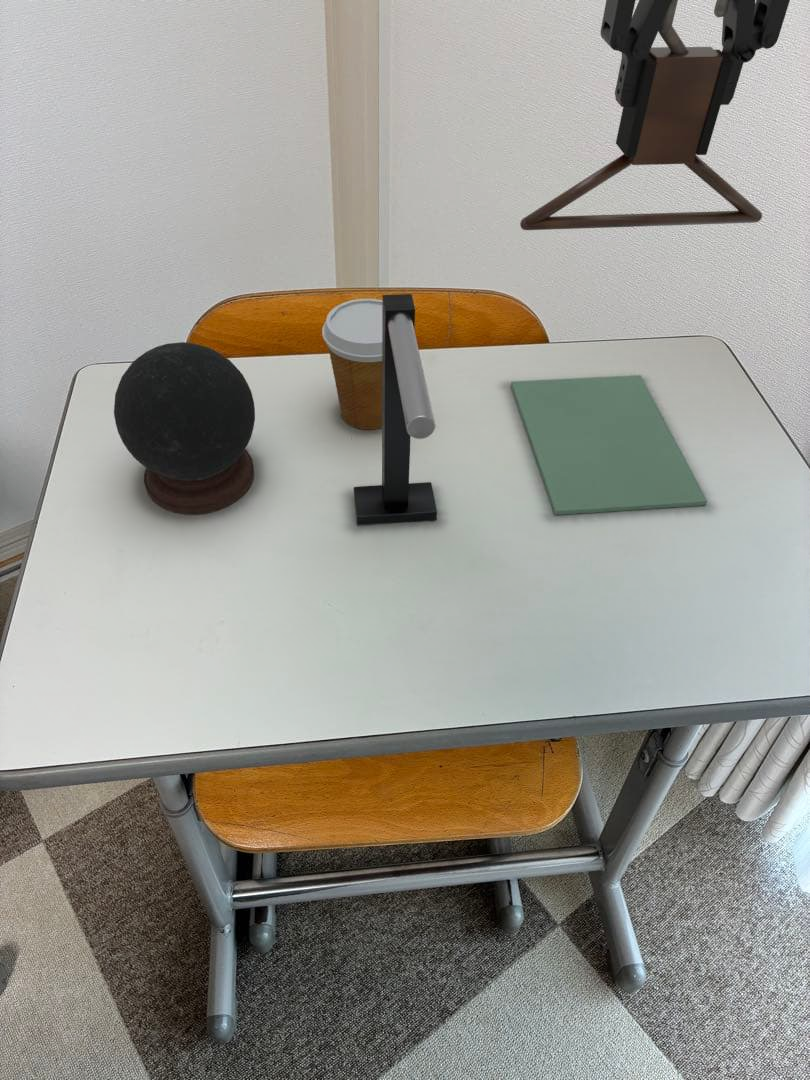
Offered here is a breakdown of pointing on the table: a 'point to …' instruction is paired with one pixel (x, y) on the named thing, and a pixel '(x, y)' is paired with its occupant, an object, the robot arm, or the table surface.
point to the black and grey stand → (399, 423)
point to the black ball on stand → (187, 426)
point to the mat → (604, 446)
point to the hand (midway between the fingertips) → (660, 148)
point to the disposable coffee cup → (357, 360)
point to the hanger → (663, 140)
